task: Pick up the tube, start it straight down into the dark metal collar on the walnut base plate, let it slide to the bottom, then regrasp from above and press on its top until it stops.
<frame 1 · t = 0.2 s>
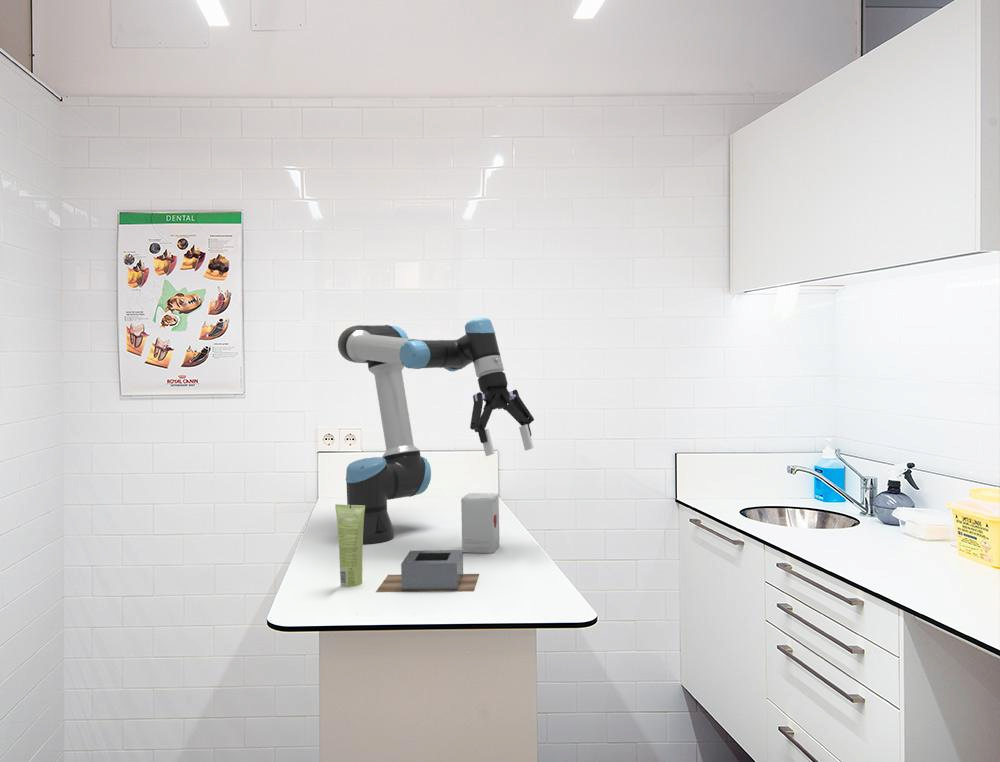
hand: (510, 452, 207), 28 cm above the worktop, tool tilted 20°, fingers open, 13 cm apart
supplement box: (481, 550, 218), on the worktop
base plate: (429, 587, 183), on the worktop
collar: (433, 582, 182), resting on base plate
tube: (352, 589, 184), on the worktop
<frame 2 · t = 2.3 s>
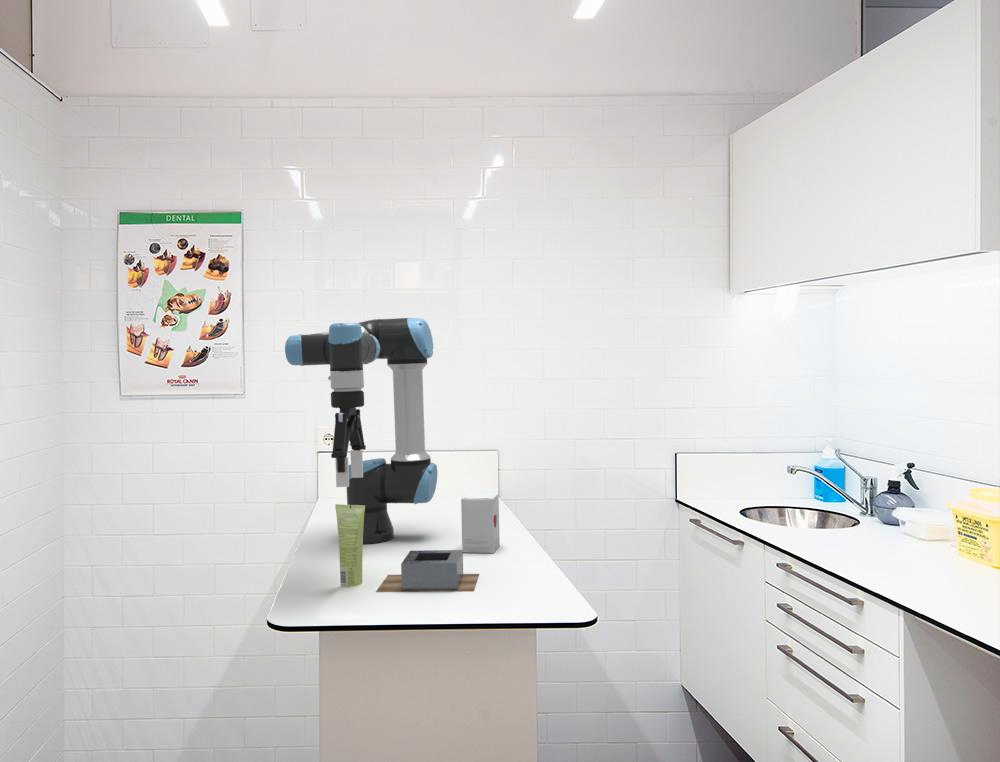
hand: (350, 482, 183), 25 cm above the worktop, tool pointing down, fingers open, 13 cm apart
nothing on the worktop moved.
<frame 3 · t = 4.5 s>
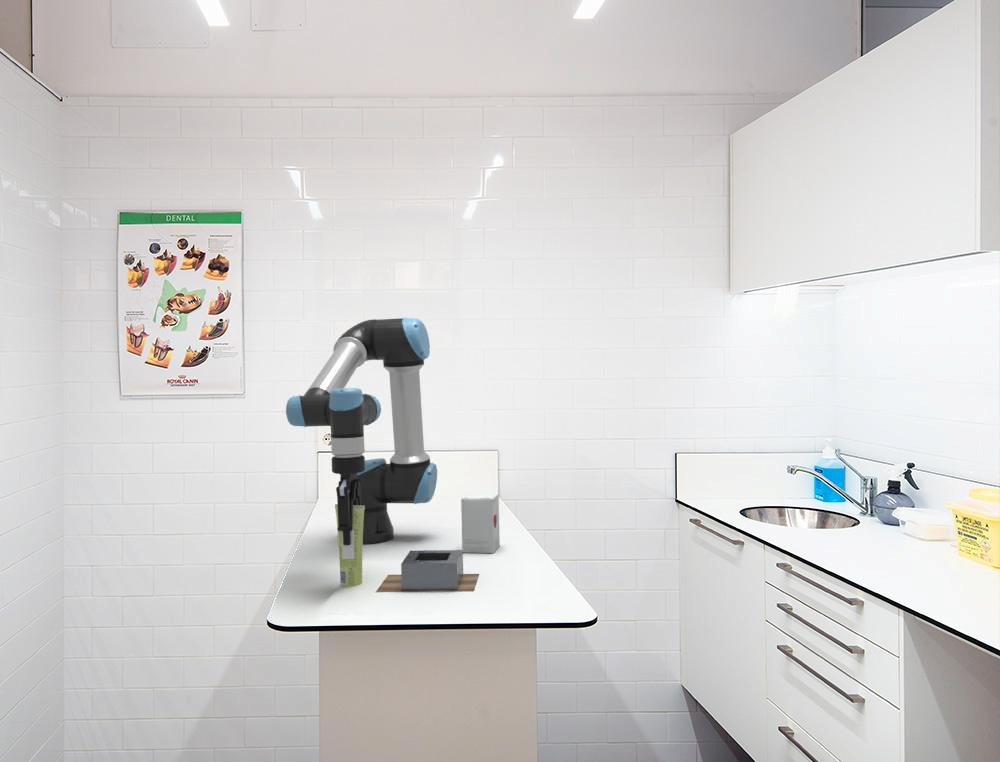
hand: (351, 555, 183), 8 cm above the worktop, tool pointing down, fingers closed on tube, 4 cm apart
tube: (352, 589, 184), on the worktop, touching gripper
everything else where it was.
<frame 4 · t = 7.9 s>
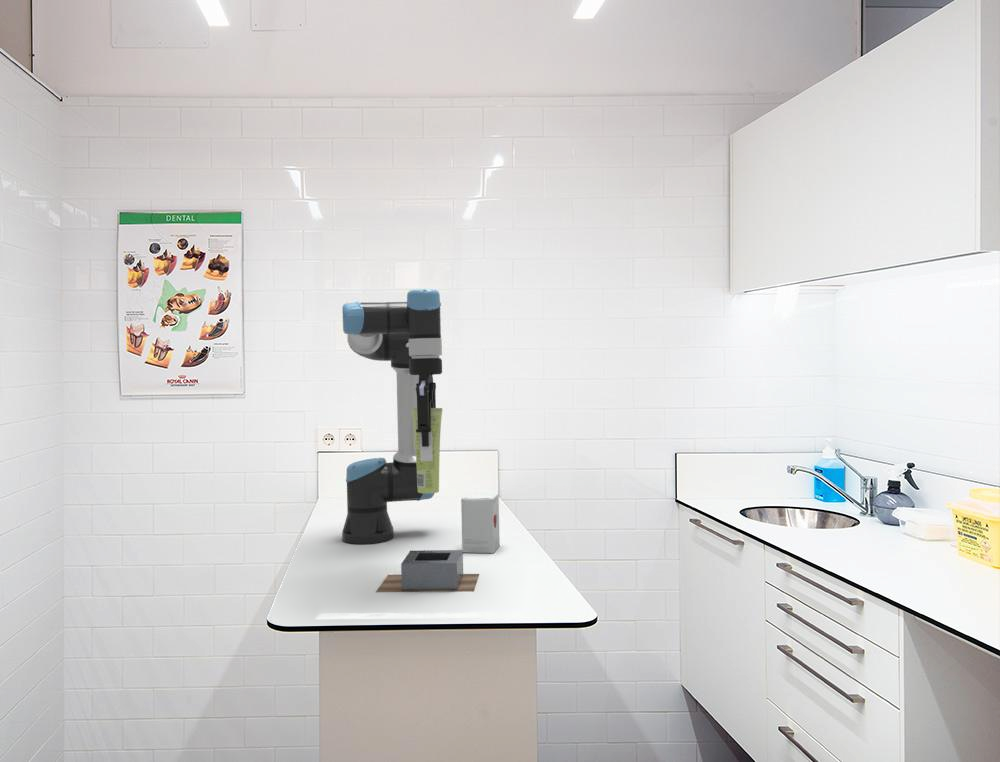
hand: (428, 459, 182), 30 cm above the worktop, tool pointing down, fingers closed on tube, 4 cm apart
tube: (429, 493, 182), point 22 cm above the worktop, touching gripper
everything else where it was.
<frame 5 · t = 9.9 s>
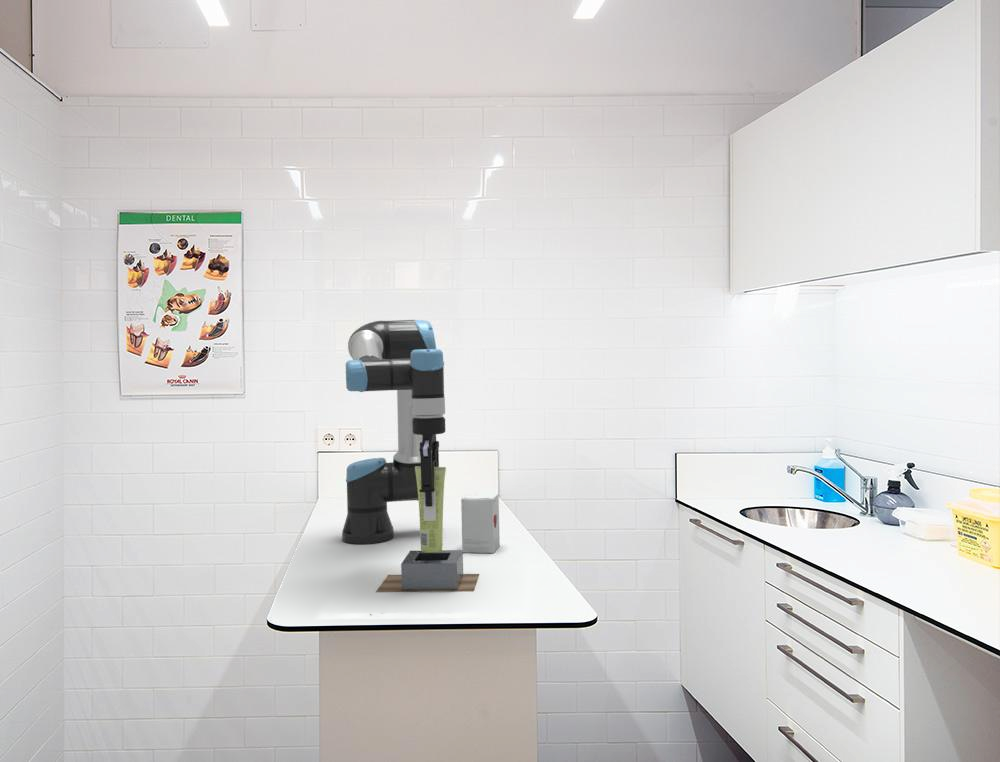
hand: (431, 517, 182), 16 cm above the worktop, tool pointing down, fingers closed on tube, 4 cm apart
tube: (432, 551, 182), point 8 cm above the worktop, touching gripper
everything else where it was.
when the fingers open (10 cm above the worktop, at t = 11.5 s): tube drops 1 cm, resting on base plate.
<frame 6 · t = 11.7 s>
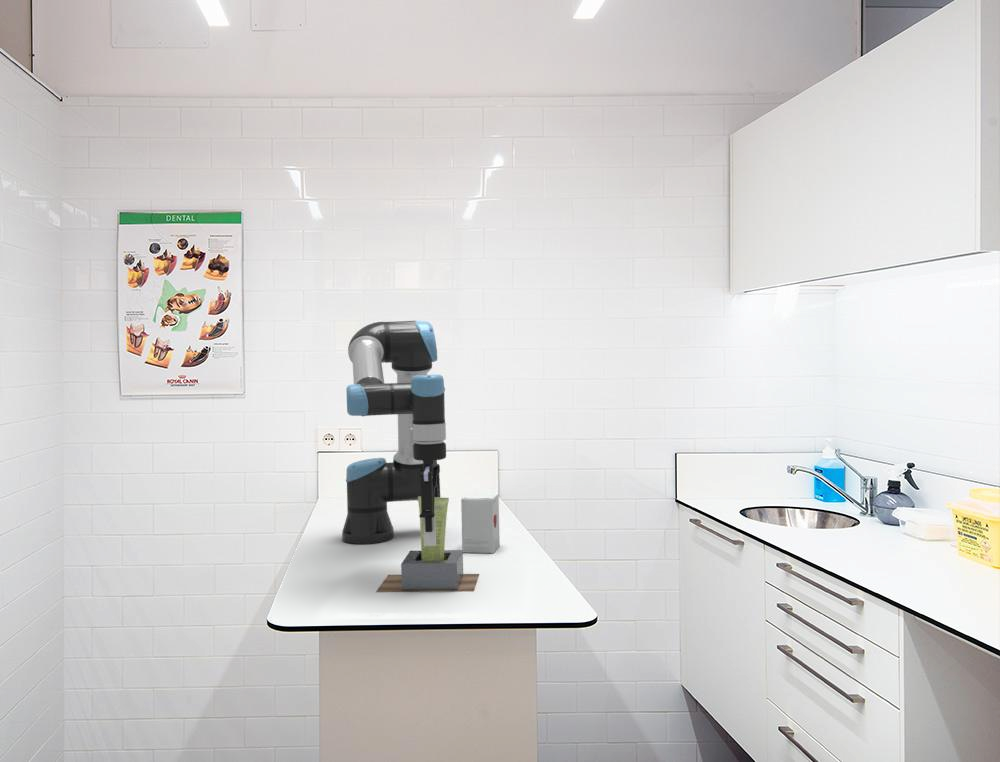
hand: (432, 541, 182), 11 cm above the worktop, tool pointing down, fingers open, 7 cm apart
tube: (433, 582, 182), point 1 cm above the worktop, touching base plate
everything else where it was.
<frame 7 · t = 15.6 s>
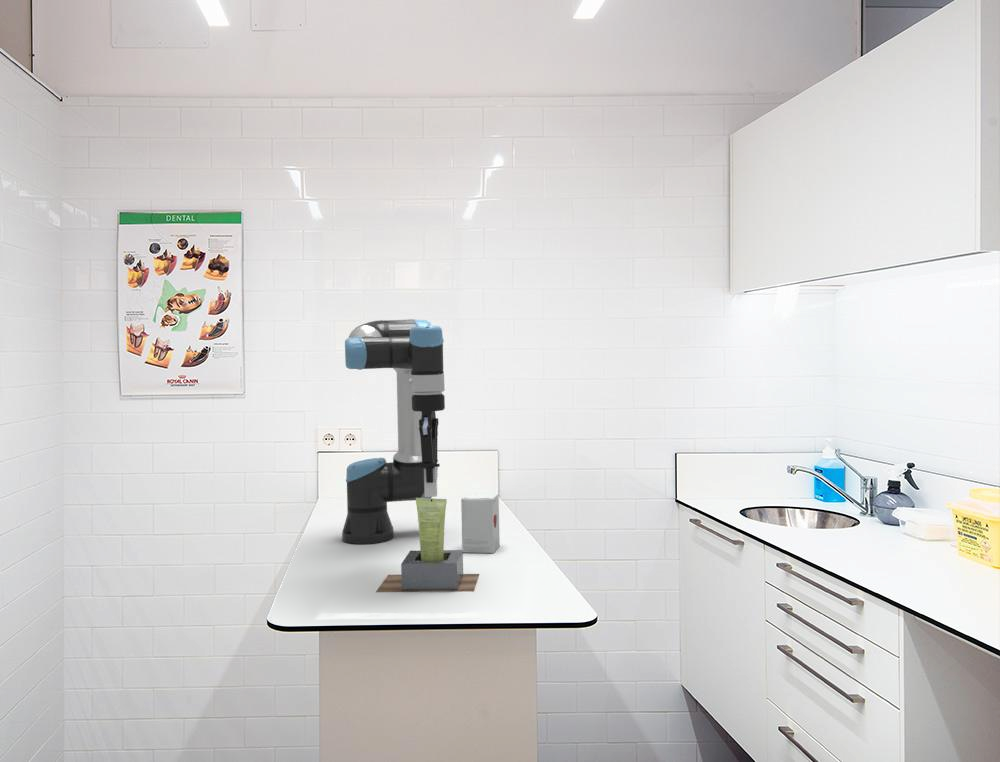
hand: (431, 496, 182), 21 cm above the worktop, tool pointing down, fingers closed
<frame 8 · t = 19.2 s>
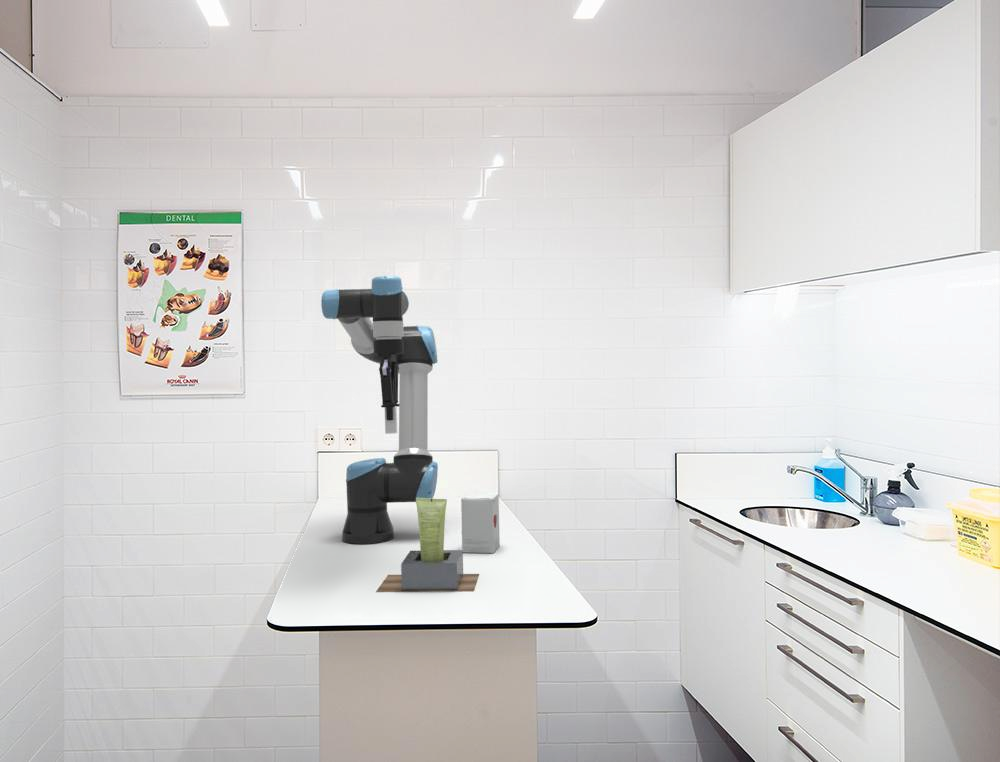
hand: (391, 433, 198), 34 cm above the worktop, tool pointing down, fingers closed
nothing on the worktop moved.
at the end: tube 0.0 cm off-centre on the collar, point 0.0 cm above the collar's base; tube tilted 0°; the gripper is holding nothing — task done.
